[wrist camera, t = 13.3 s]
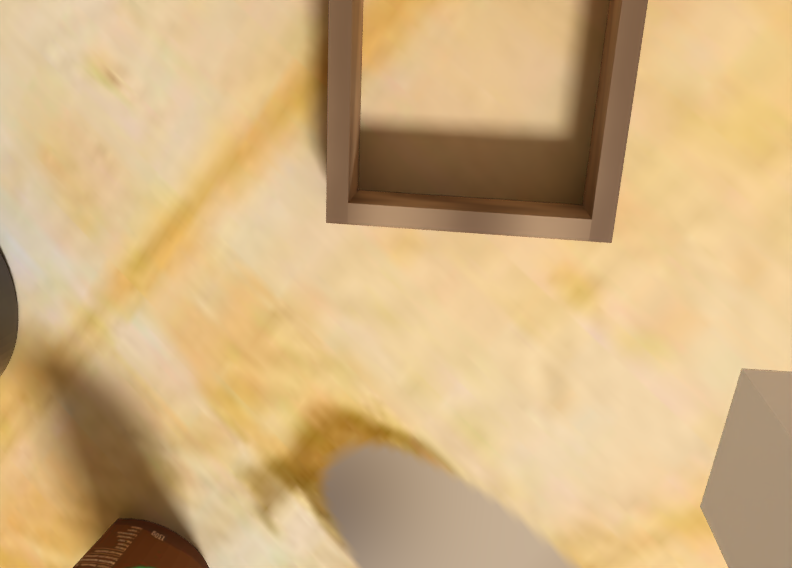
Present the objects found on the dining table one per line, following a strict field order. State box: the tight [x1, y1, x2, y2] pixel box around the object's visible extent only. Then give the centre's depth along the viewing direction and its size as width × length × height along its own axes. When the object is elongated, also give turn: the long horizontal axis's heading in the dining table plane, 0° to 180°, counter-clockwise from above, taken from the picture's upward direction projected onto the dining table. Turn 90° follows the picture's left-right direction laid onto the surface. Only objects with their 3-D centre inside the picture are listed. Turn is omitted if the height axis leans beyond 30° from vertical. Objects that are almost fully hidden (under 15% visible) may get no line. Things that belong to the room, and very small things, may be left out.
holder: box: [326, 0, 648, 243], centre depth 31 cm, size 13×15×3 cm
